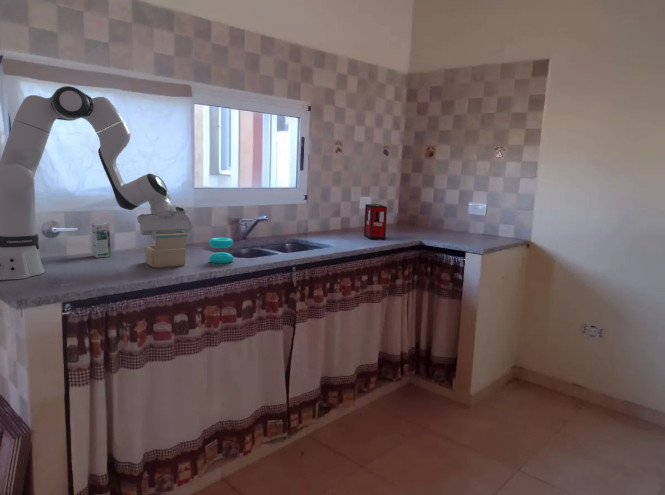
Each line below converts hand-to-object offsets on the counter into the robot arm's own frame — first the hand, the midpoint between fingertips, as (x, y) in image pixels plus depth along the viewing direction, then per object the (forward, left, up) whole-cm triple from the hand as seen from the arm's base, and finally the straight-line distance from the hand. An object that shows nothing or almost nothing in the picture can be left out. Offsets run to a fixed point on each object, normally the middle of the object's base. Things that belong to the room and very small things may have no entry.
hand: (170, 241), depth 186 cm
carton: (0, +9, -11) cm, 14 cm away
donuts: (+22, +4, -11) cm, 25 cm away
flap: (0, +2, -3) cm, 4 cm away
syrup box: (-20, +36, -11) cm, 43 cm away
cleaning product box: (+132, +35, -11) cm, 137 cm away
